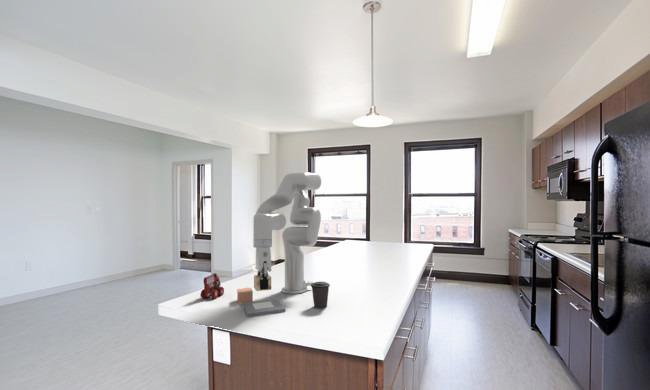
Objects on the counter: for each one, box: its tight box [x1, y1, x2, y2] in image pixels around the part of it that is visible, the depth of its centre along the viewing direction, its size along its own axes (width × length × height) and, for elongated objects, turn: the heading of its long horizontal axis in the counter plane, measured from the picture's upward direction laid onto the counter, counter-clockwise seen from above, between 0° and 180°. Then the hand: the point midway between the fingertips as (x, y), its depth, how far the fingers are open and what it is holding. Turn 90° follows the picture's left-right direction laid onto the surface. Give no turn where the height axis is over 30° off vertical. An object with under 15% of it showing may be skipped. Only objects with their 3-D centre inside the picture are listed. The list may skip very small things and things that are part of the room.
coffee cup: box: [310, 281, 331, 310], centre depth 132 cm, size 8×8×10 cm
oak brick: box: [253, 274, 272, 292], centre depth 130 cm, size 6×6×5 cm
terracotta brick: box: [236, 287, 254, 305], centre depth 141 cm, size 6×6×5 cm
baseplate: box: [241, 297, 286, 318], centre depth 130 cm, size 15×15×1 cm
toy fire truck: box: [200, 272, 225, 300], centre depth 148 cm, size 7×12×10 cm, turn 168°
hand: (262, 286), depth 130 cm, fingers closed on oak brick, 6 cm apart
